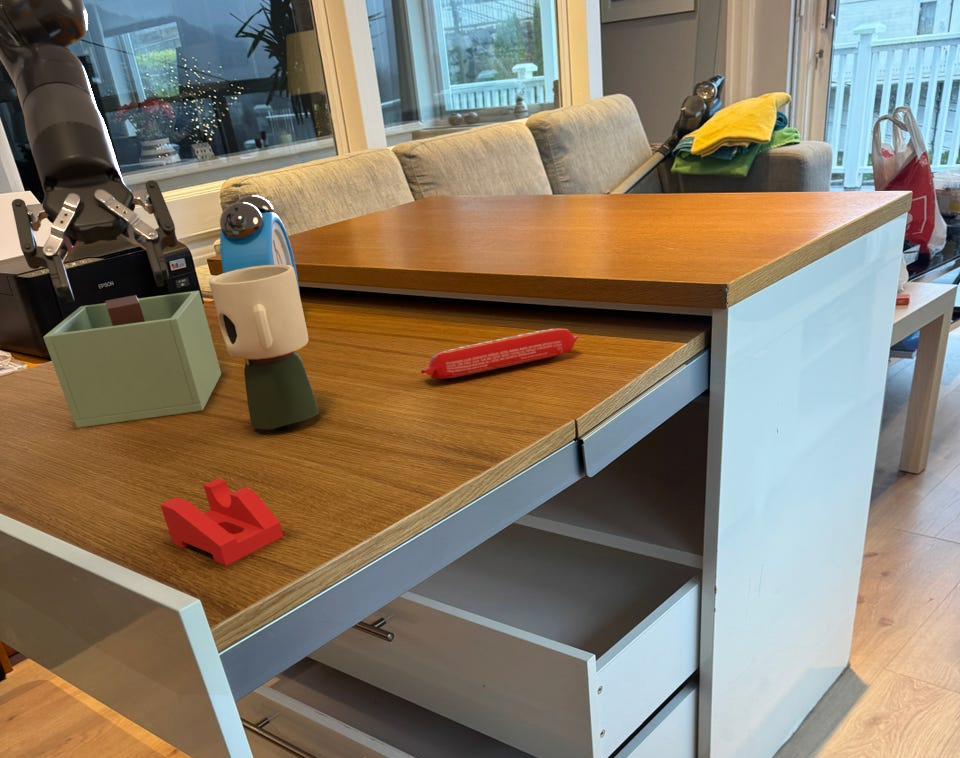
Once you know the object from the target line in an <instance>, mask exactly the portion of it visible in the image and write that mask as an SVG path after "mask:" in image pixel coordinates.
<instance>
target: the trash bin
mask: <svg viewBox="0 0 960 758" xmlns="http://www.w3.org/2000/svg"><path fill="white" fill-rule="evenodd" d="M137 299H138V301H139V303H140V306H141V310H142V313H143V316H144V320H145V322H139V323H132V324H124V325H117V326H113V325H112V322H111V319H110V316H109V313H108V310H107V306H106V302H103V303H97V304H89V305H81V306H79V307H78V308H77V309H76V310H74V311H73V312H72V313H71V314H69V315H68V316H67V317H66V318H64V319H63V320H62V321H61V322H60V323H58V324H57V325H56V326H55V327H53V328H52V329H51V330H50V331H49V332H47V333H46V334H45V335H44V336H43V341H44V344H45V346H46V349H47V351H48V354H49V357H50V360H51V362H52V365H53V368H54V371H55V373H56V377H57V378H58V381H59V384H60V386H61V389H62V390H61V391H62V392H63V395H64V398H65V400H66V403H67V406H68V409H69V411H70V414H71V417H72V419H73V422H74V424H75V428H76V429H82V428H87V427H94V426H102V425H110V424H117V423H124V422H131V421H138V420H147V419H153V418H160V417H167V416H175V415H182V414H190V413H196V412H203V411H204V409H205V407H206V405H207V403H208V401H209V399H210V397H211V396H212V393H213V391H214V390H215V387H216V385H217V383H218V381H219V380H220V377H221V375H222V371H221V368H220V363H219V359H218V357H217V353H216V348H215V345H214V340H213V338H212V333H211V329H210V326H209V323H208V319H207V314H206V311H205V308H204V304H203V300H202V296H201V292H200V290H193V291H185V292H178V293H177V292H176V293H170V294H164V295H156V296H147V297H141V298H137Z"/></svg>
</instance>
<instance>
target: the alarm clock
mask: <svg viewBox="0 0 960 758" xmlns="http://www.w3.org/2000/svg"><path fill="white" fill-rule="evenodd" d="M219 228H220V235H219V236H220V237H219V249H220V262H221V267H222V274H223V273H227V272H230V271H234V270H238V269H244V268H248V267H254V266H263V265H290V266H292V267H293V268H294V271H295V275H296V280H297V285H298V289H299V290H300V286H299V278H298V272H297V266H296V262H295V257H294V253H293V252H294V251H293V249H292V245H291V241H290V238H289V236H288V231H287V229H286V227H285V225H284V222H283V221H282V219H281V218H280V216H279V215H278V214H277V213H275V210H274V207H273V205H272V204H271V203H270V201H269V200H267V199H265V197H263V196H259V195H254V194H249V195H245V196H242V197H240V198H239V199H238V200H237V201H236V202H234V203H231V204H229V205H228V206H227V207H225V208H224V209H223V211H222V213H221V215H220V217H219Z"/></svg>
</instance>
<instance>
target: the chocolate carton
mask: <svg viewBox="0 0 960 758" xmlns="http://www.w3.org/2000/svg"><path fill="white" fill-rule="evenodd" d="M138 299H139V298H138V297H137V294H135V295H129V296H124V297H119V298H113V299H107V300H105V301H104V303H106V306H107V310H108V313H109V316H110V319H111V322H112V325H113V326H117V325H124V324H132V323H139V322H145V320H144V316H143V313H142V310H141V306H140V303H139V301H138Z"/></svg>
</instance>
